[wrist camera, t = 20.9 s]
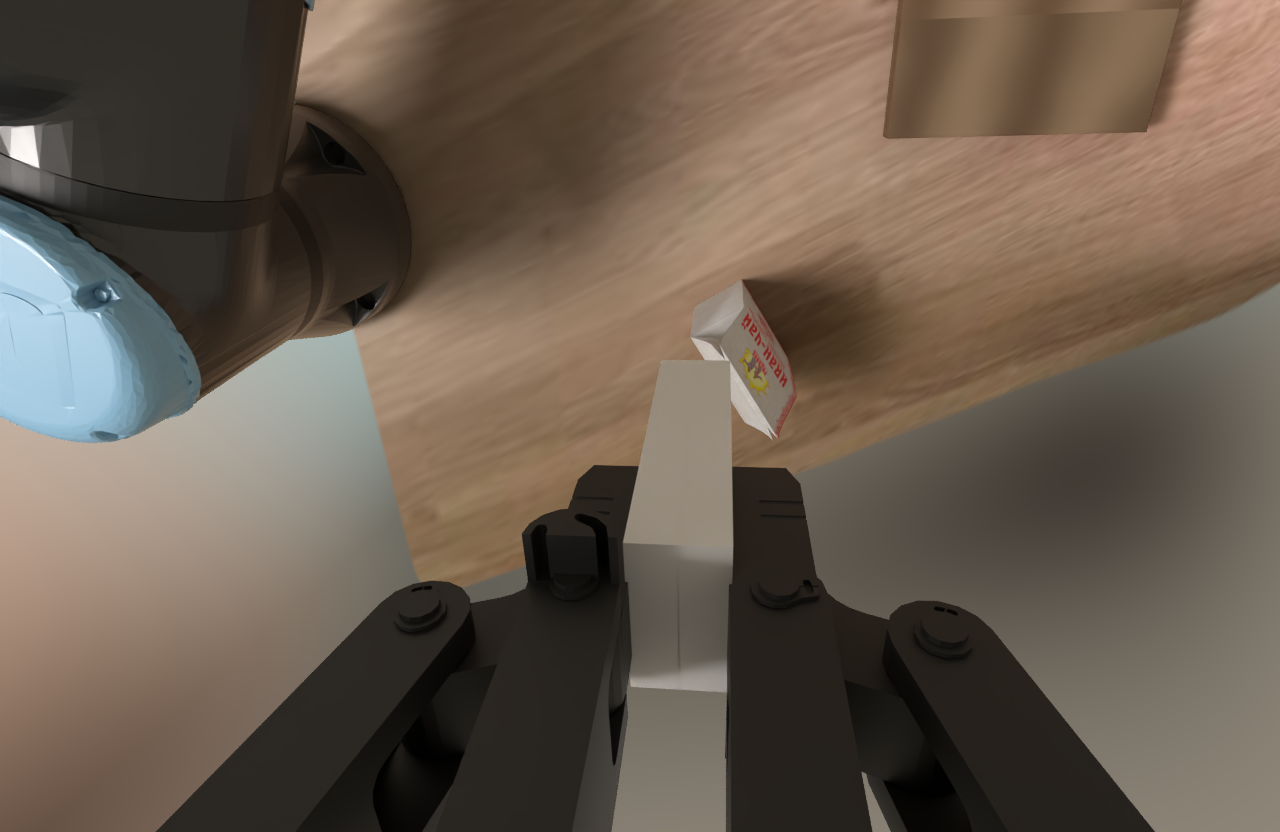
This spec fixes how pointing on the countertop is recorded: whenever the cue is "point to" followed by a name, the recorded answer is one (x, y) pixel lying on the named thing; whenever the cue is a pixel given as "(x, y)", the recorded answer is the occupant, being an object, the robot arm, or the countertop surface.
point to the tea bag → (746, 356)
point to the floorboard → (1026, 66)
